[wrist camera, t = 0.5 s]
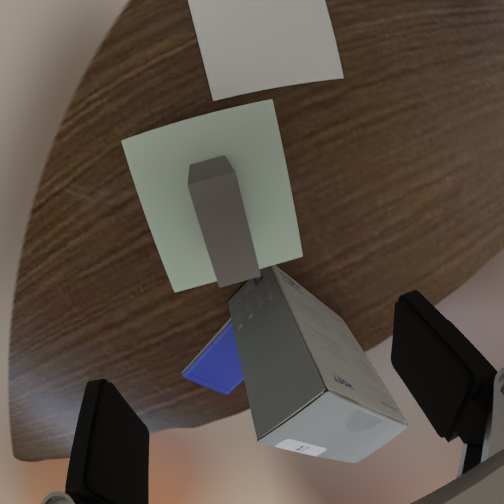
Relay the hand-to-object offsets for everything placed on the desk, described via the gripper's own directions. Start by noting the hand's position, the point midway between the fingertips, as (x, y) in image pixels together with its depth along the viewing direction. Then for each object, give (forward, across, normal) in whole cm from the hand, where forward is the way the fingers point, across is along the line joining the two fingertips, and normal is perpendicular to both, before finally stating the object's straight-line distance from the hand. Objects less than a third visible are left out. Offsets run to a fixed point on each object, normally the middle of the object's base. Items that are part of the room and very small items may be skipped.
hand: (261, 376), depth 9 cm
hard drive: (+27, +4, +24) cm, 36 cm away
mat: (+26, -9, -14) cm, 31 cm away
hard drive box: (+26, -5, +19) cm, 33 cm away
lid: (+20, 0, 0) cm, 20 cm away
